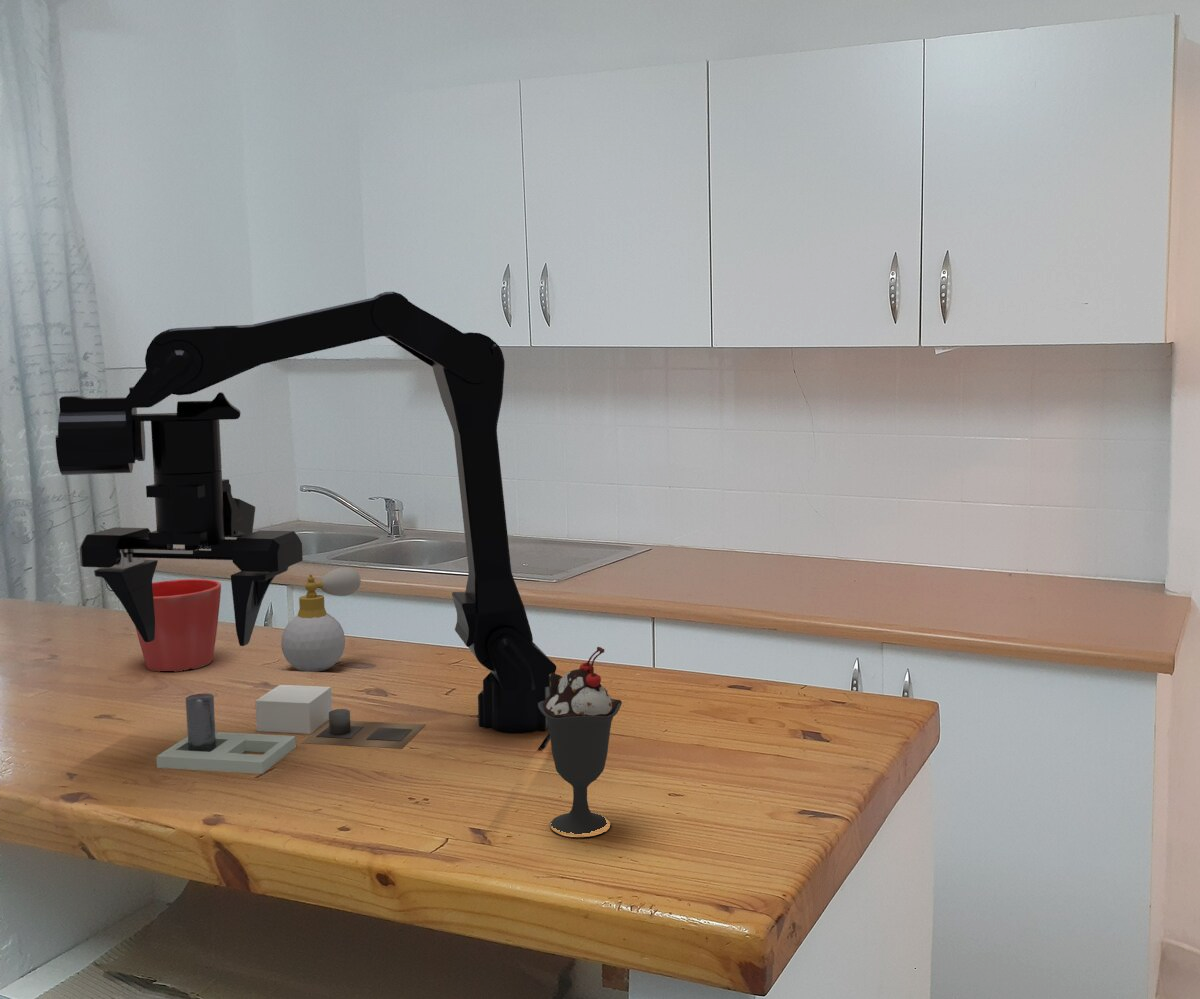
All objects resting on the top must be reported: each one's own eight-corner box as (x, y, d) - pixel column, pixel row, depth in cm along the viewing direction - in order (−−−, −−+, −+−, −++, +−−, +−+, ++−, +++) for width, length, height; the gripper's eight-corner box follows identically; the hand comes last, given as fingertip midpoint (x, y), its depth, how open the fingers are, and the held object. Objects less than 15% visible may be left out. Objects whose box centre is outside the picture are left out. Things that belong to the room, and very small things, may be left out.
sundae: (626, 841, 91) (626, 654, 89) (540, 844, 90) (538, 656, 88) (618, 808, 97) (617, 633, 95) (538, 811, 97) (535, 635, 95)
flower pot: (113, 667, 142) (108, 589, 141) (190, 648, 151) (186, 574, 150) (166, 681, 136) (162, 599, 135) (243, 660, 145) (239, 583, 144)
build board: (296, 761, 109) (295, 736, 109) (263, 789, 102) (261, 762, 102) (197, 756, 111) (196, 731, 110) (157, 783, 104) (156, 756, 103)
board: (426, 739, 115) (425, 704, 115) (402, 763, 108) (401, 727, 108) (330, 734, 117) (329, 700, 116) (301, 758, 110) (299, 722, 109)
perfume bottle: (268, 673, 139) (264, 574, 137) (323, 654, 148) (319, 561, 146) (317, 681, 136) (313, 580, 134) (370, 661, 144) (367, 566, 143)
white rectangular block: (332, 730, 118) (331, 686, 117) (310, 748, 113) (308, 703, 112) (281, 727, 119) (279, 684, 118) (257, 745, 114) (255, 700, 113)
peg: (222, 767, 108) (218, 694, 107) (209, 776, 105) (205, 701, 104) (197, 766, 108) (194, 693, 107) (184, 775, 106) (180, 700, 105)
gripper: (323, 463, 110) (329, 626, 111) (141, 461, 113) (150, 619, 115) (271, 476, 99) (278, 656, 101) (70, 473, 102) (81, 648, 104)
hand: (196, 643), depth 105 cm, fingers open, 9 cm apart
